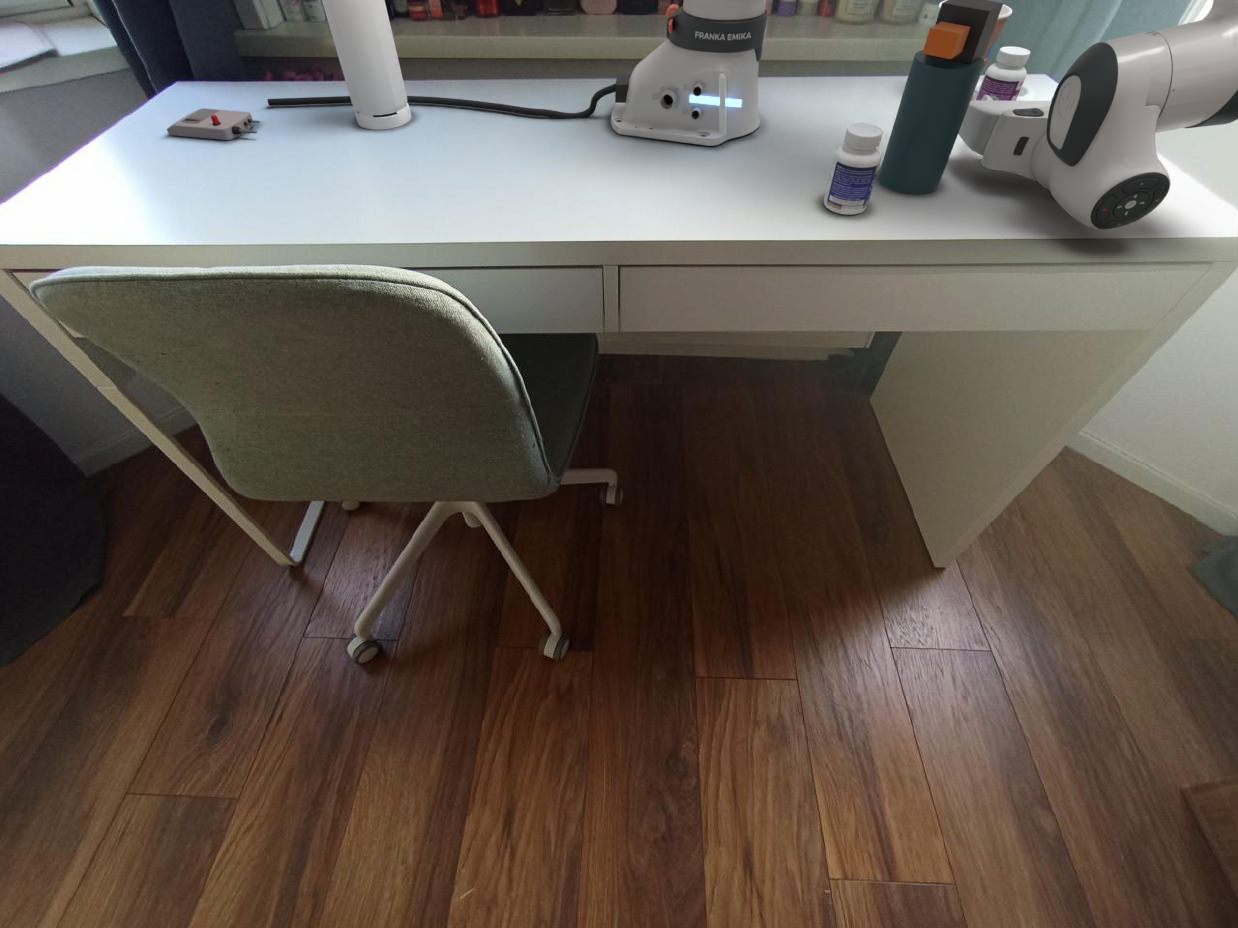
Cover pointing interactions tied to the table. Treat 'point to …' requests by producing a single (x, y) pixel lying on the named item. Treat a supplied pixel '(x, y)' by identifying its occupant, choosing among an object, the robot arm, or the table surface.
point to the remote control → (213, 124)
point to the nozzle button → (946, 40)
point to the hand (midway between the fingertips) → (1020, 101)
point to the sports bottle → (937, 102)
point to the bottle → (369, 61)
